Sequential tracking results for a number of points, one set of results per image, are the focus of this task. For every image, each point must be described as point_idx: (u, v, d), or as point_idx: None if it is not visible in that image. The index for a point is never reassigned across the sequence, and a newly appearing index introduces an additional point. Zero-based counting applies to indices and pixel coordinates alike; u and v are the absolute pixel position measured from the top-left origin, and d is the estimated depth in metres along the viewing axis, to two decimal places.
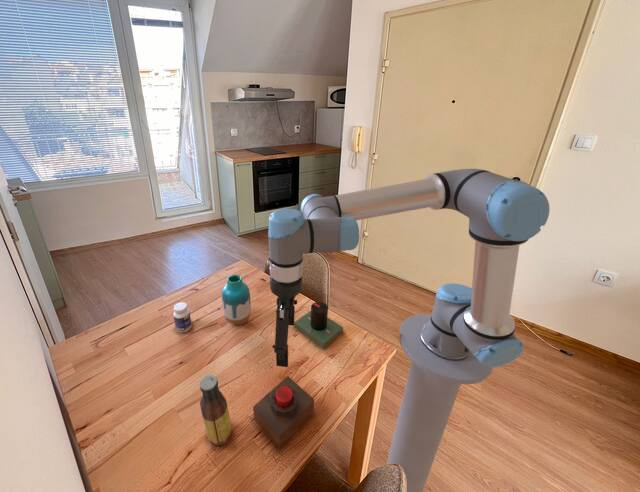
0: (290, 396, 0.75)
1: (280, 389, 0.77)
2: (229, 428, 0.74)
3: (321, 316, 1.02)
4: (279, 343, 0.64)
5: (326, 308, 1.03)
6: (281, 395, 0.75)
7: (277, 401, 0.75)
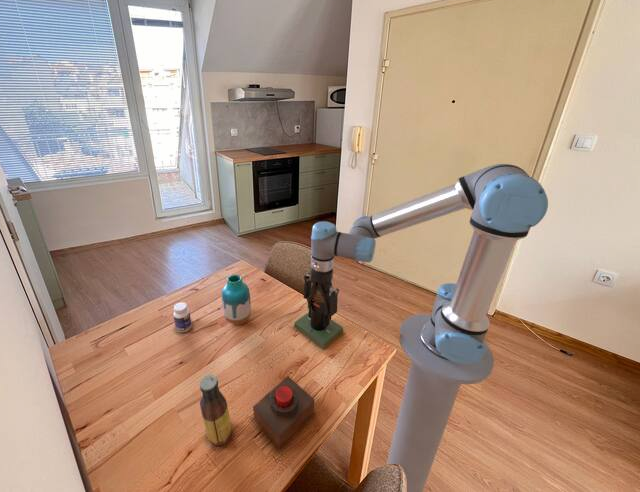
0: (290, 396, 0.75)
1: (280, 389, 0.77)
2: (229, 428, 0.74)
3: (321, 316, 1.02)
4: (334, 309, 0.98)
5: None
6: (281, 395, 0.75)
7: (277, 401, 0.75)
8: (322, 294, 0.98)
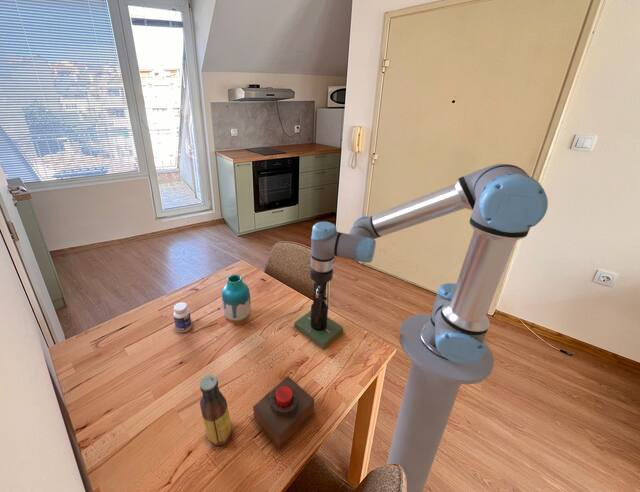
0: (290, 396, 0.75)
1: (280, 389, 0.77)
2: (229, 428, 0.74)
3: None
4: None
5: None
6: (281, 395, 0.75)
7: (277, 401, 0.75)
8: None
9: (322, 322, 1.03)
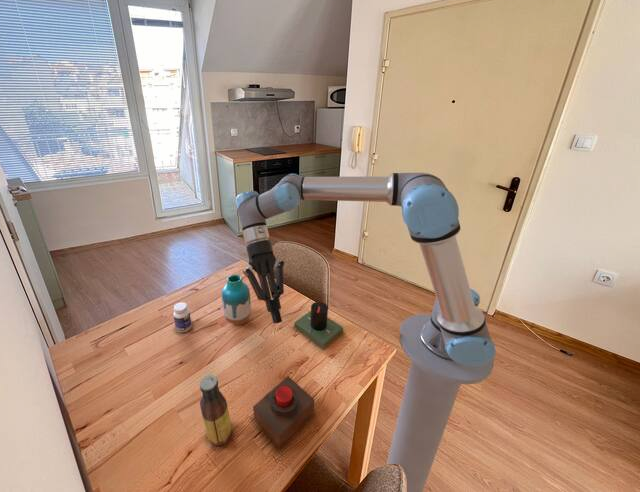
0: (290, 396, 0.75)
1: (280, 389, 0.77)
2: (229, 428, 0.74)
3: None
4: None
5: (316, 303, 1.06)
6: (281, 395, 0.75)
7: (277, 401, 0.75)
8: (272, 270, 0.85)
9: (322, 322, 1.03)
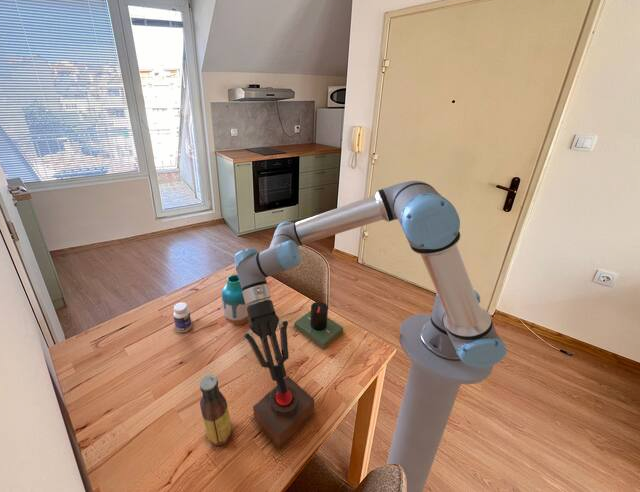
0: (290, 399, 0.76)
1: None
2: (229, 428, 0.74)
3: None
4: None
5: (316, 303, 1.06)
6: (281, 398, 0.76)
7: (277, 404, 0.76)
8: (274, 333, 0.79)
9: (322, 322, 1.03)
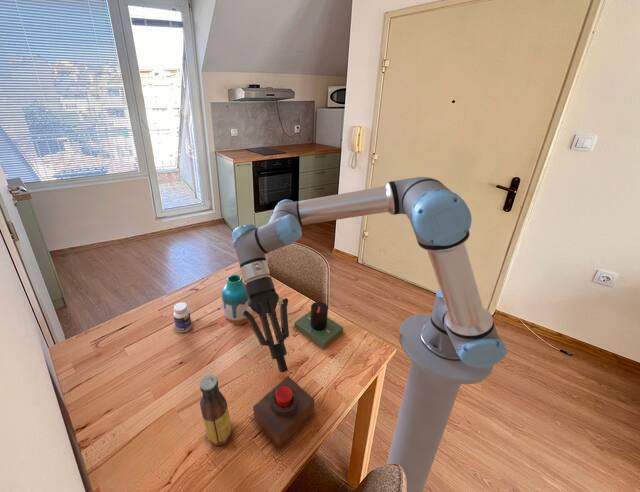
0: (290, 396, 0.75)
1: (280, 389, 0.77)
2: (229, 428, 0.74)
3: None
4: None
5: (316, 303, 1.06)
6: (281, 395, 0.75)
7: (277, 401, 0.75)
8: (273, 311, 0.76)
9: (322, 322, 1.03)
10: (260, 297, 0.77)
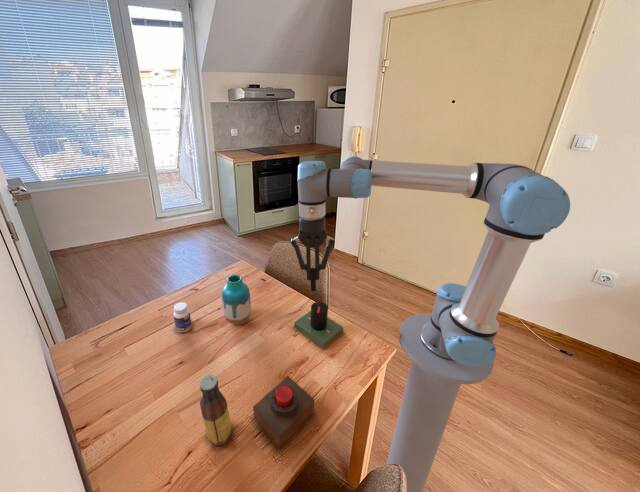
0: (290, 396, 0.75)
1: (280, 389, 0.77)
2: (229, 428, 0.74)
3: None
4: None
5: (316, 303, 1.06)
6: (281, 395, 0.75)
7: (277, 401, 0.75)
8: (317, 248, 0.84)
9: (322, 322, 1.03)
10: (309, 233, 0.84)
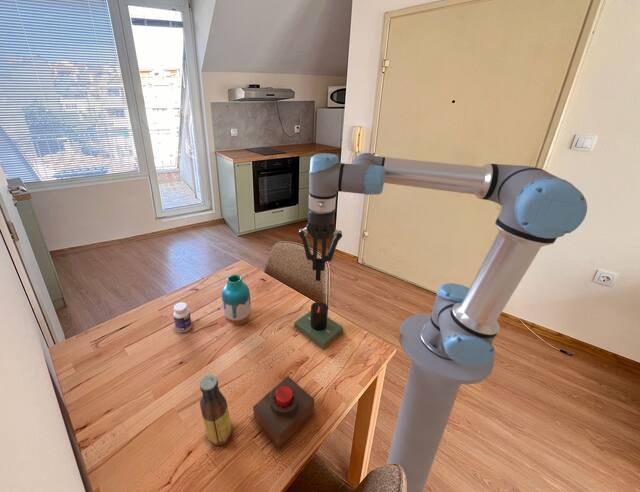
0: (290, 396, 0.75)
1: (280, 389, 0.77)
2: (229, 428, 0.74)
3: None
4: None
5: (316, 303, 1.06)
6: (281, 395, 0.75)
7: (277, 401, 0.75)
8: (324, 241, 0.85)
9: (322, 322, 1.03)
10: (317, 226, 0.84)
